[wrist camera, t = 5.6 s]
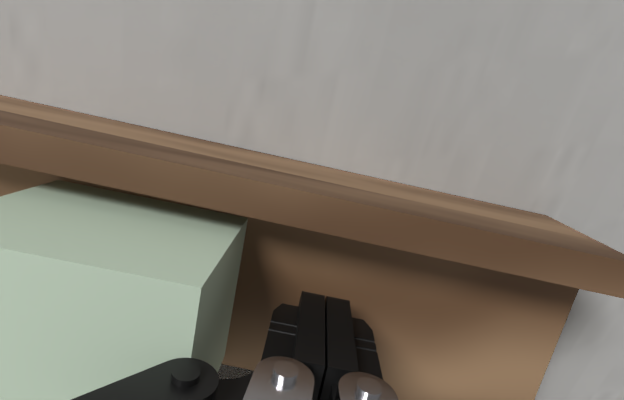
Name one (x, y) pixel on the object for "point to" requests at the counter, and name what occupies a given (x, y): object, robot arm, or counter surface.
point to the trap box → (346, 249)
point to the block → (109, 287)
